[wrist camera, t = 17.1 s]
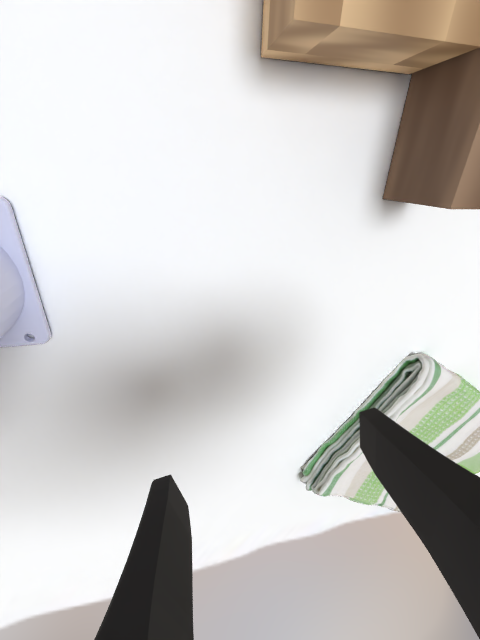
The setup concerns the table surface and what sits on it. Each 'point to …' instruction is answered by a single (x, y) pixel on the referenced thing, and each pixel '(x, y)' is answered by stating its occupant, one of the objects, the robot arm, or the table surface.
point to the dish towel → (413, 415)
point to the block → (370, 32)
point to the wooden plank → (440, 137)
